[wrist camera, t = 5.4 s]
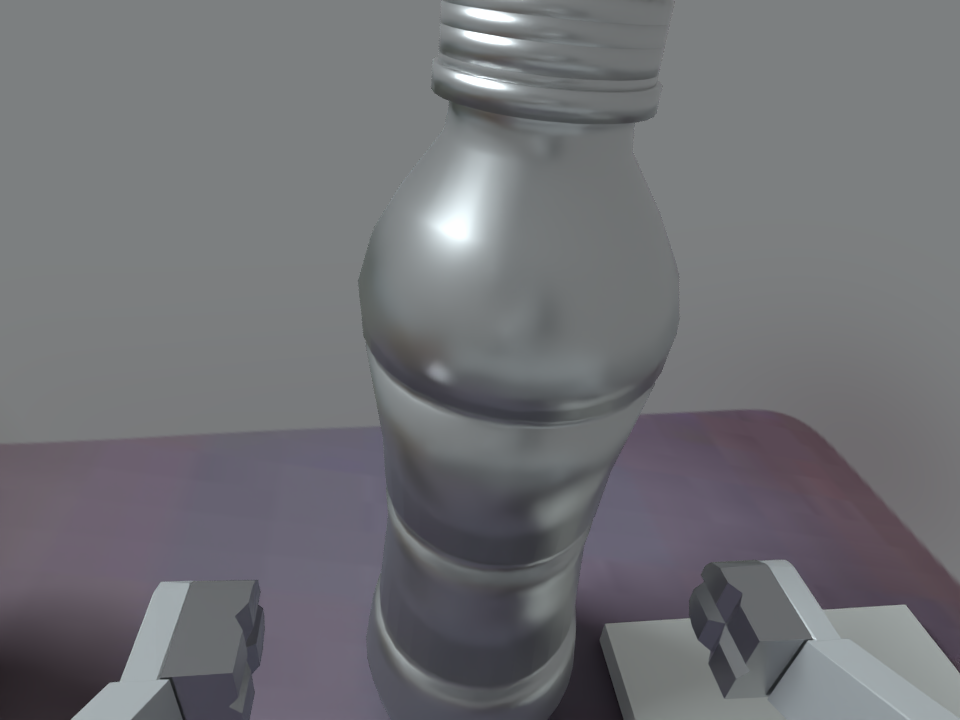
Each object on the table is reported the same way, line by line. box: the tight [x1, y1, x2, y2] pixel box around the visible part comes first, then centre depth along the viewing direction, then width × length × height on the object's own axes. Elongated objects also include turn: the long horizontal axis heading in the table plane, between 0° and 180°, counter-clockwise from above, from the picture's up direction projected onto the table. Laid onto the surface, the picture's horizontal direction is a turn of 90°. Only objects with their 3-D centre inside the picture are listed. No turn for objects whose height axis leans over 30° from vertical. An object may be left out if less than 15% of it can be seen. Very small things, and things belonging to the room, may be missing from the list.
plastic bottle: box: [358, 0, 680, 720], centre depth 15 cm, size 6×7×20 cm
